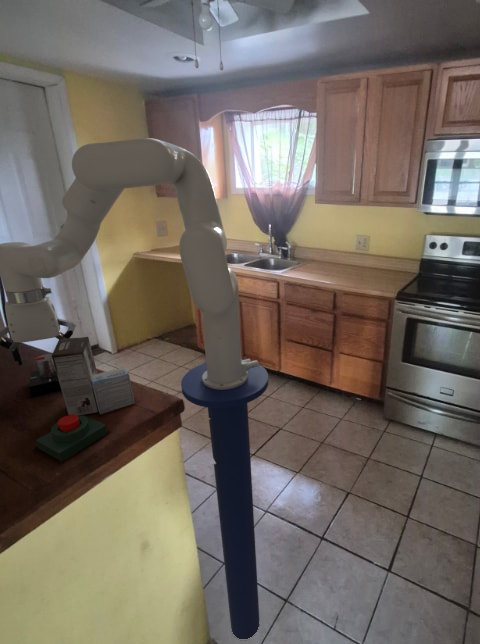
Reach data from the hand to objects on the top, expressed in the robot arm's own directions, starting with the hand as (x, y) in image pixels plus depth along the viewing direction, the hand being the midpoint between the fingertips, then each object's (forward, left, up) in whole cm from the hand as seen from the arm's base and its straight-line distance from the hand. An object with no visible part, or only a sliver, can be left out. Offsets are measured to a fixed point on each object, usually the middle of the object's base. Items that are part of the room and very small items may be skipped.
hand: (43, 358), depth 96 cm
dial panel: (0, 0, -8) cm, 8 cm away
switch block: (-4, +29, -8) cm, 30 cm away
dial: (0, 0, -5) cm, 5 cm away
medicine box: (-14, +19, -8) cm, 25 cm away
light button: (-4, +29, -4) cm, 30 cm away
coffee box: (-7, +16, -8) cm, 19 cm away
